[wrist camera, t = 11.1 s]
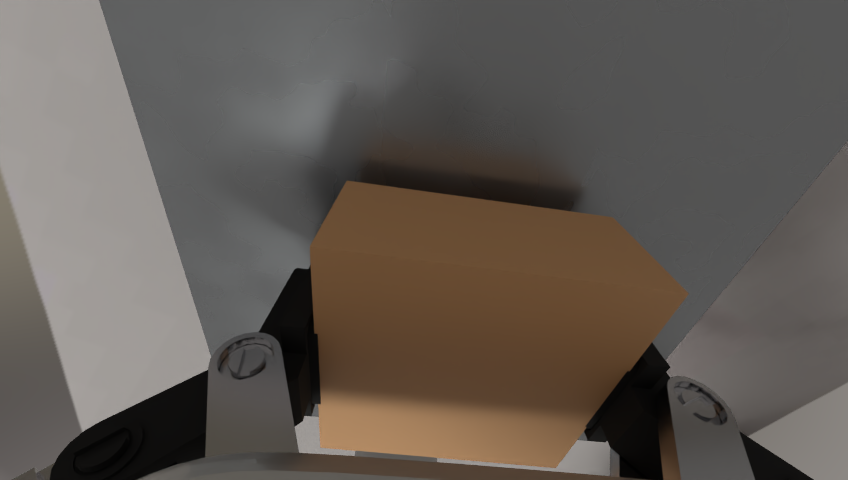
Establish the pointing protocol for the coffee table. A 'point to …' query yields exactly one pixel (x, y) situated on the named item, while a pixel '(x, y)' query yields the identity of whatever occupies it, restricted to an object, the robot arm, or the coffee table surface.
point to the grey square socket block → (479, 123)
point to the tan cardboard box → (475, 323)
